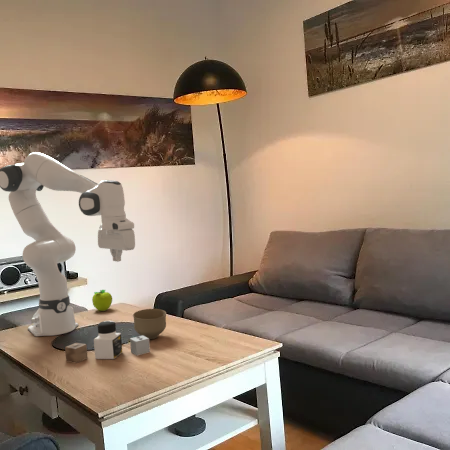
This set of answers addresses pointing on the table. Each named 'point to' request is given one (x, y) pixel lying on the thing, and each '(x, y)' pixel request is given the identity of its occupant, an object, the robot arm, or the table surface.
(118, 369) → the table surface
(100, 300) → the fruit
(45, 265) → the robot arm
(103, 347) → the medicine bottle
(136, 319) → the bowl
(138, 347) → the grey painted block
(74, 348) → the walnut block
